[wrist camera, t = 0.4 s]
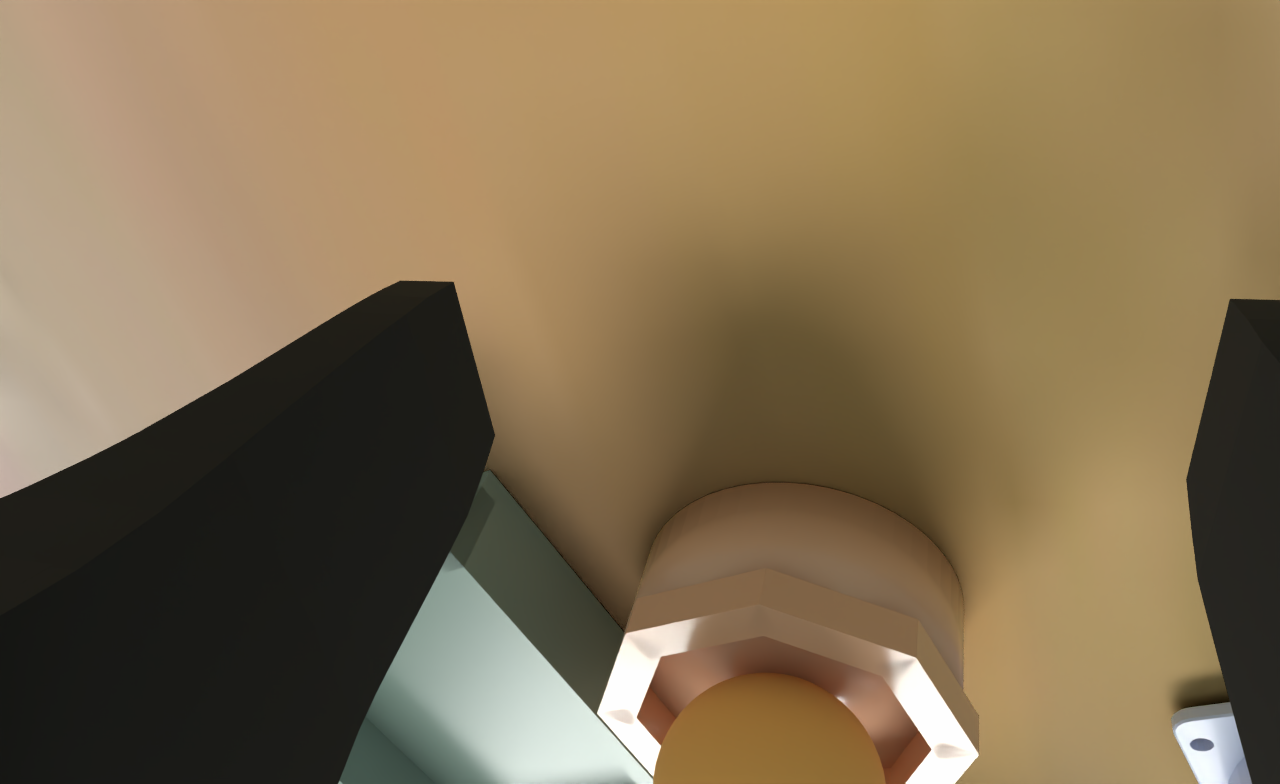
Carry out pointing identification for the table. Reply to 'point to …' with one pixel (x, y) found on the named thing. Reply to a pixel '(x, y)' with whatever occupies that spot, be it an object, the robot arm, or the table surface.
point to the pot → (801, 622)
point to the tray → (498, 670)
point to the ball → (767, 737)
